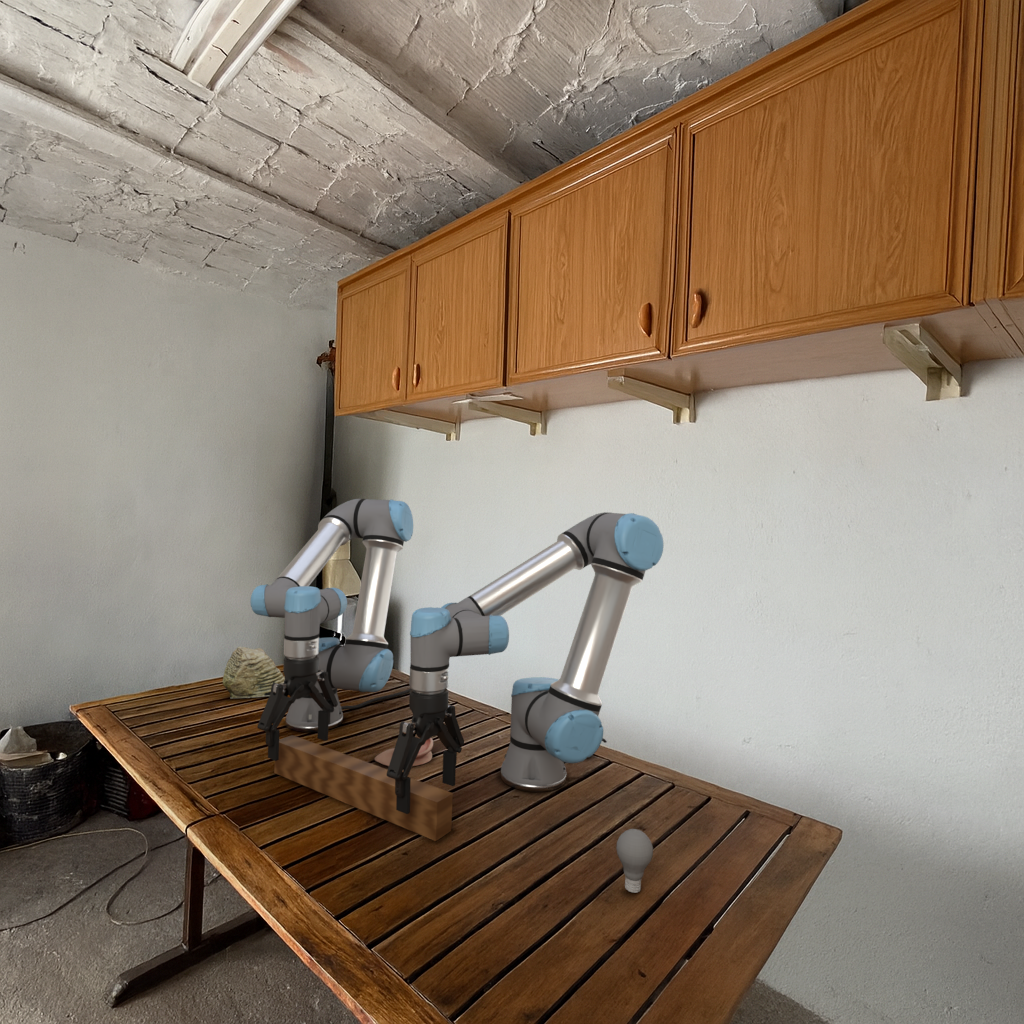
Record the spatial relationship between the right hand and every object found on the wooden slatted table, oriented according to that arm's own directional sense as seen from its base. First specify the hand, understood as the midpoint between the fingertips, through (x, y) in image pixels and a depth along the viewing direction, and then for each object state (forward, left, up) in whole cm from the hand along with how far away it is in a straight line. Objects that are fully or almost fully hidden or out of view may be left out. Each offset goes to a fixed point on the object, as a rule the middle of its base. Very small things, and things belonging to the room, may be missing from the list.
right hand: (427, 797), depth 123 cm
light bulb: (-17, +37, -6) cm, 41 cm away
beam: (+6, -18, -6) cm, 20 cm away
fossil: (+2, -98, -6) cm, 99 cm away
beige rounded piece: (-13, -31, -6) cm, 34 cm away
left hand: (+12, -36, 0) cm, 38 cm away
